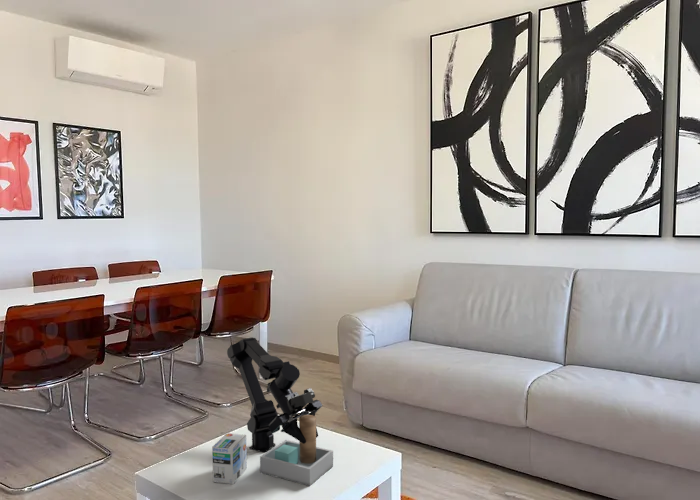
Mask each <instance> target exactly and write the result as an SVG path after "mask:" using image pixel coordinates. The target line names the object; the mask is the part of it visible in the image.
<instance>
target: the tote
mask: <svg viewBox="0 0 700 500" xmlns="http://www.w3.org/2000/svg"><path fill="white" fill-rule="evenodd" d="M283 445H288V446H293V447H297V448H298V463H297V464H293V463H289V462H285V461H281V460H277V459H275V450H277V449H278V448H280V447H281V446H283ZM333 467H334V450H331V449H328V448H327V449H326V448H322V447H318V446H316V461H315V462H313V463H310V464H305V463H302V462H300V442H295V441H291V440H287V439H285V440H283V441H282V442H281V443H278V444H277V445H275V446H274V447H272V448H271V449H269V450H268V451H266V452H264V453H263V454H262V455H260V456H259V469H260V470H259V471H260V474H264V475H268V476H271V477H275V478H279V479H281V480H286V481H289V482H294V483H297V484H300V485H301V484H302V485H305V486H308V487H310V486H312V485H313V484H315V482H316V481H317V480H319V479H321V477H322V476H323V475H325V474H326V473H327V472H328V471H329V470H330V469H333Z"/></svg>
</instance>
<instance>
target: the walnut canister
mask: <svg viewBox="0 0 700 500" xmlns="http://www.w3.org/2000/svg"><path fill="white" fill-rule="evenodd" d="M298 421H299V423H298V427H299V429H300V430H301V432H302V434H303V436H304V437H305V440H306V443H305V444H303V443H302V442H300V441H299V440H298V443H300V462H302V463H305V464H310V463H313V462H315V461H316V447H317V438H316V428H317V417H316V415H315V416H313V415H303V416H301V417H299V418H298Z"/></svg>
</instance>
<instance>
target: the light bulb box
mask: <svg viewBox="0 0 700 500" xmlns="http://www.w3.org/2000/svg"><path fill="white" fill-rule="evenodd" d="M247 448H248V447H247V434H239V433H230V432H226V433H225V434H224V435H223V436H222V437H221V438H219V440H217V441H216V442H215V444H214V445H213V446H212V448H211V453H212V482H213V483H220V484H229V485H234V484H235V483H236V481H237V480H239V479H240V477H241V476H242V475H243V474H244V472H245V471H247V469H248V461H247V460H248V459H247V457H248V456H247V455H248V454H247V452H248V451H247Z"/></svg>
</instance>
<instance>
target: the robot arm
mask: <svg viewBox="0 0 700 500" xmlns="http://www.w3.org/2000/svg"><path fill="white" fill-rule="evenodd" d="M226 354H227V357H228V359H229V360H230V363H231V365H232V366H234V367H235V368H236V369H238V370H239V373H240V376H241V379H242V382H243V383H244V387H245V390H246V392H247V396H248V398H249V400H250V404H251V410H250V412H249V413H250V414H249V415H250V417H249V419H248V421H247V423H246V426H247V430H248V431H249V432H250V433H251V445H250V446H249V447H248V449H249V450H254V451H257V452H260V453H266V452H268V451H269V450H271V449H273V448H274V447H276V446H277V445H276V443H274V440H275V439H274V437H275V436H274V434H275V433H276V432H279V431H280V432H281V433H285V434H286V435H289V436H291V437H292V438H294V439H296V440H297V441H298V442H299V441H300V442H302V443H303V444H305V443H306V440H305V437H304V436H303V434H302V432H301V430H300V429H299V424H298V419H299V418H300V417H301V416H303V415H313V416H315V417H316V414H317V412H318V411H319V410H320V409H322V407H323V406H324V405H323V404H322V402H321V401H320V399H319V400H318V399H315V398H316V394H315V391H314V390H313V389H312V387H310V388H306V389H304V390H303V393H302V394H299V393H298V392H297V391H295V392H294V391H293V390H292V388H293V387H294V385H295V383H296V382H297V381H298V379H299V378H300V376H301V375H300V373H301V372H300V369H299V368H298V367H297V366H296V365H295V364H294V365H293V364H291V363H290V361H283V360H282V359H281V358H280V357H278V356H274V355H271V354H270V353H269V352H268V351H266V349H265V348H263V347H262V345H261V344H260V343H259V342H258V341H257V338H256V337H247V338H242V339H240V340H239V341H238V342H236V343H233V344H230V346H229V347H228V348H227V349H226ZM253 361H254V363H255V364H256V365H257V366H258V373H259V375H260V377H261V378H262V379H263V380H264V381H269V380H271V381H270V382H268V383H267V384H266V393H271V394H272V396H273V398H274V400H275V401H276V403H277V404H276V406H275V404H274V401H273V400H272V399H269V400H268V399H266V396H265V393H264V392H263V389H262V386H261V384H260V381H259V378H258V375H257V374H256V370H255V368H254V365H253ZM314 399H315V400H314ZM275 407H276V408H275ZM277 409H281V410H280V411H282V413H281V414H279V413H278V411H277ZM281 428H282V429H281ZM318 437H319V433H318V428H317V427H316V439H317V438H318ZM300 442H299V443H300Z"/></svg>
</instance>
